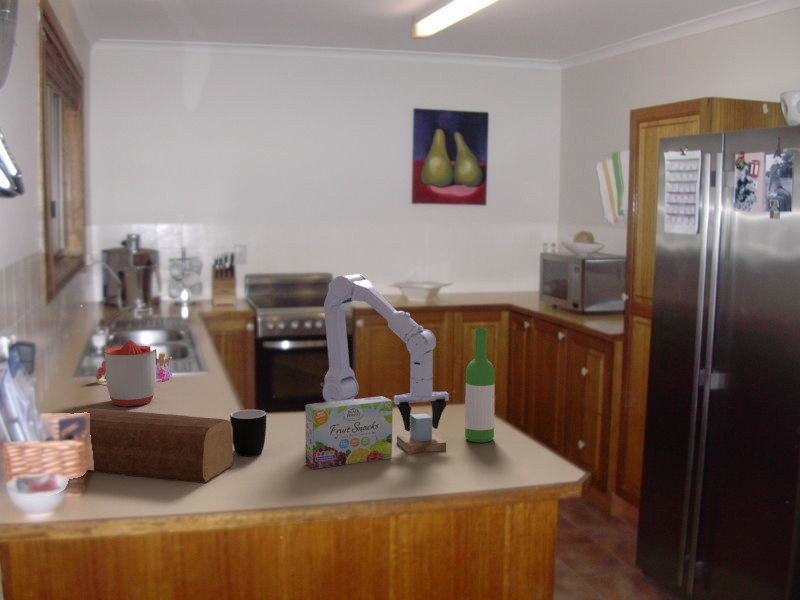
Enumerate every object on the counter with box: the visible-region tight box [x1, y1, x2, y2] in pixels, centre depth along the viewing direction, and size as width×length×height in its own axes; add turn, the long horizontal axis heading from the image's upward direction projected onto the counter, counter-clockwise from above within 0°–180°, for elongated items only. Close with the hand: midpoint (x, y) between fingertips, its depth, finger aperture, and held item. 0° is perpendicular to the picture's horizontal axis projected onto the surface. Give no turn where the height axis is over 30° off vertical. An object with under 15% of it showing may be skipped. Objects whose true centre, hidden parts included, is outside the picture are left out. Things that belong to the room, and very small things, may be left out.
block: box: [409, 413, 433, 442], centre depth 224 cm, size 4×4×6 cm
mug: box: [229, 409, 267, 457], centre depth 219 cm, size 12×9×10 cm
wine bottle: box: [464, 327, 496, 444], centre depth 229 cm, size 8×8×30 cm
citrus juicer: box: [103, 339, 162, 408], centre depth 270 cm, size 16×17×20 cm
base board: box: [396, 431, 447, 455], centre depth 224 cm, size 10×10×2 cm
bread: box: [69, 407, 234, 483], centre depth 206 cm, size 16×39×13 cm, turn 74°
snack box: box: [304, 395, 394, 470], centre depth 211 cm, size 21×6×15 cm, turn 117°
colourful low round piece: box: [95, 352, 173, 386], centre depth 305 cm, size 25×24×9 cm
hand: (421, 429), depth 224 cm, fingers open, 7 cm apart
